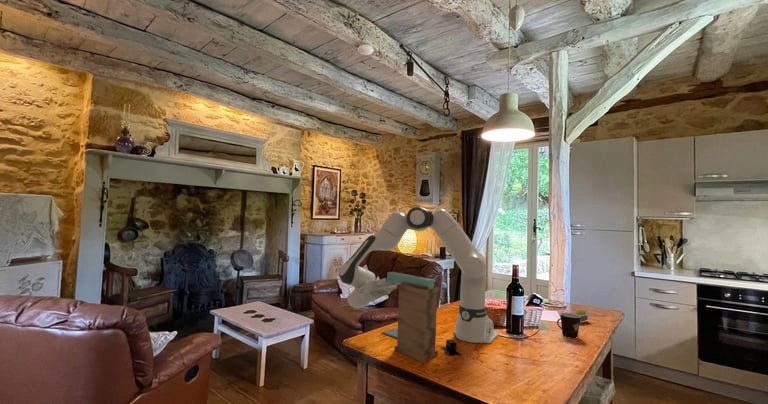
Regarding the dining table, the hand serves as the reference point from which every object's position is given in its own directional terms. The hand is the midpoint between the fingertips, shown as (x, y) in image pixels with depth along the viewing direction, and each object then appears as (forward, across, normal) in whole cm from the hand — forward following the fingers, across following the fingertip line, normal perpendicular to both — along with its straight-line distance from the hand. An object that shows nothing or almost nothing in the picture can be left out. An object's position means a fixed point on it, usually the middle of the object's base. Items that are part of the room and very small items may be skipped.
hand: (393, 278), depth 149 cm
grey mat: (-14, +11, +24) cm, 30 cm away
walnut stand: (-2, 0, +30) cm, 31 cm away
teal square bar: (+7, 0, +5) cm, 9 cm away
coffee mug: (+27, +73, +48) cm, 92 cm away
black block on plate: (+4, +13, +35) cm, 38 cm away
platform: (+25, +105, +48) cm, 118 cm away
